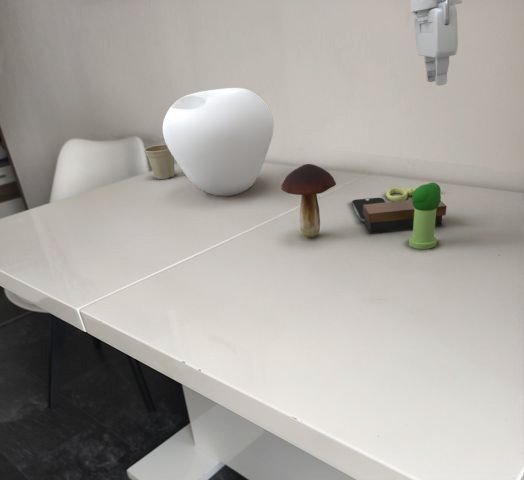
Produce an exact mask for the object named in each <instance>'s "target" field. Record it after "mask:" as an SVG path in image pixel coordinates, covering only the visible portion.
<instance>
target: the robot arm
mask: <svg viewBox="0 0 524 480" xmlns="http://www.w3.org/2000/svg"><path fill="white" fill-rule="evenodd" d="M462 3H463V0H409V13H411V14H412V15H414V17H413V22H414V32H415V43H416V49H417V53H418V56H422V57H423V61H424V67H425V68H424V69H425V75H426V76H425V78H426V81H427V82H428V83H432V82H435V85H437V86H444V85H446V84H448V71H449V65H450V57H452V56H453V57H454V56H456V55H457V52H458V47H459V45H458V43H459V39H458V37H459V35H458V32H459V31H458V12H457V11H458V10H457V7H456V5H460V4H462Z"/></svg>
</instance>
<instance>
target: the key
mask: <svg viewBox="0 0 524 480" xmlns="http://www.w3.org/2000/svg"><path fill="white" fill-rule="evenodd" d="M416 188H417V187H415V188H411V187H409V188H408V189H405V188H403V187H392V188H389V189H388V190H387V191H386V193H385V197H386V198H387V200H388V201H390V202H395V201H405V200H408V197H412V196H413V192H414V190H415V189H416ZM392 194H399V195H398V196H394V195H392ZM400 194H401V195H400Z"/></svg>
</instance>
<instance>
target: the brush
mask: <svg viewBox="0 0 524 480" xmlns="http://www.w3.org/2000/svg"><path fill="white" fill-rule="evenodd" d="M447 206H448V205H446V204H445V203H444V202H443V201H442V200H441V201H440V204H439V205H438V207H437V209H436V219H435V228H436V227H442V225H443V216H446V215H447V208H448V207H447ZM414 210H415V208H414V206H413V204H412V199H406V200H404V201H385V203H375V204H365V205H363V215H364V216H365V223H364V225H365V227H366V228H367V230H368V231H369V233H370V234H376V233H385V232H394V231H405V230H413V224H414Z"/></svg>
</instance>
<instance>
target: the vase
mask: <svg viewBox="0 0 524 480" xmlns="http://www.w3.org/2000/svg"><path fill="white" fill-rule="evenodd" d="M273 134H274V118H273V114H272V112H271V110H270V108H269V106H268V104H267V103H266V102H265V101H264V100H263V99H262V98H261V97H260V96H259V95H258V94H257V93H255V92H254V91H252V90H250V89H248V88H244V87H228V88H227V87H226V88H217V89H216V88H215V89H209V90H202V91H197V92H192V93H190V94H186V95H184V96H181V97H180V98H178V99H177V100H176V101H175V102H173V104H171V106H170V108H168V110H167V112H166V114H165V116H164V118H163V123H162V136H163V140H164V142H165V144H166V145H167V147H168V149H169V150H170V152H171V154H172V155H173V157H174V161H175V162H176V163H177V164H178V165H177V166H179V168H180V169H181V171H182V172H183V173H184V175H185V176H186V178H187V179H188V181H190V183H192V184H193V186H194V187H195V188H196V189H199V190H201V192H205V193H207V194H210V195H213V196H216V197H232V196H235V195H239V194H242V193H243V192H245V191H247V190H248V189H250V187H251V186H252V185H254V183H256V180H257V179H258V177H259V175H260V172H261V171H262V168H263V166H264V163H265V160H266V158H267V154H268V151H269V148H270V145H271V142H272V138H273V136H274V135H273Z"/></svg>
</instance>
